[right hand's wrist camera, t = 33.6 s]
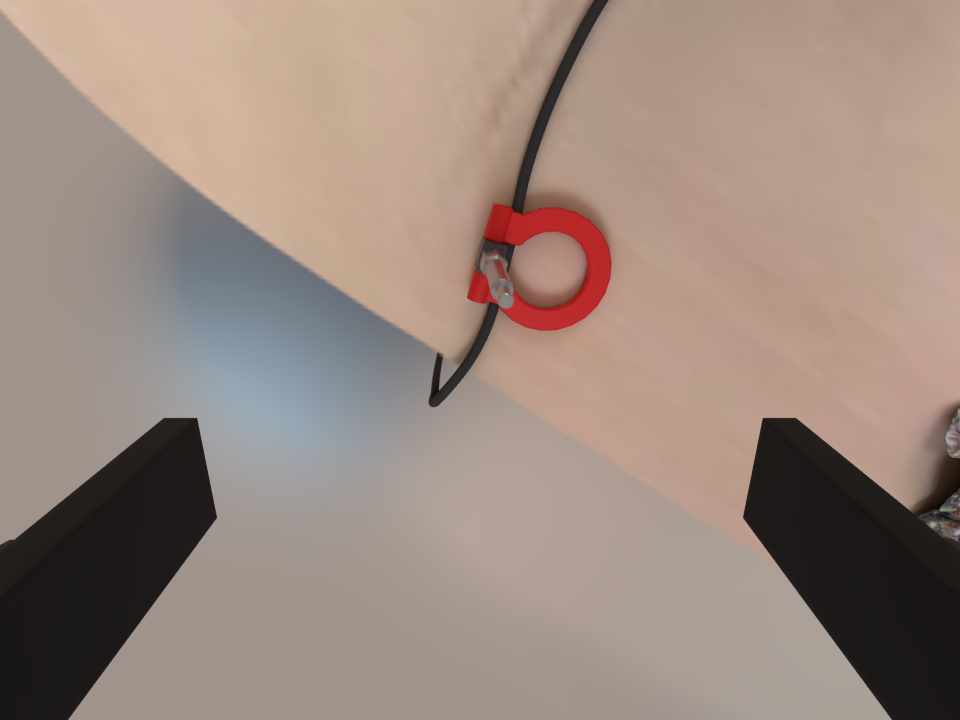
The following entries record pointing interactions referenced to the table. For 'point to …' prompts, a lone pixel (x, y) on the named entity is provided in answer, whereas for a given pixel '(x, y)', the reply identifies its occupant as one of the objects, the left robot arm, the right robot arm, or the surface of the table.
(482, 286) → the tow hook
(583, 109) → the table surface
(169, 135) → the table surface
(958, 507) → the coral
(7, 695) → the right robot arm
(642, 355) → the table surface
